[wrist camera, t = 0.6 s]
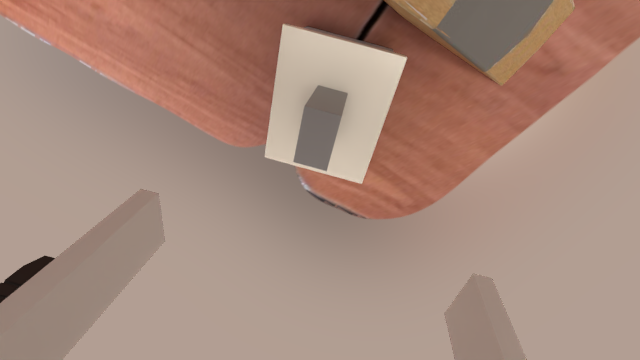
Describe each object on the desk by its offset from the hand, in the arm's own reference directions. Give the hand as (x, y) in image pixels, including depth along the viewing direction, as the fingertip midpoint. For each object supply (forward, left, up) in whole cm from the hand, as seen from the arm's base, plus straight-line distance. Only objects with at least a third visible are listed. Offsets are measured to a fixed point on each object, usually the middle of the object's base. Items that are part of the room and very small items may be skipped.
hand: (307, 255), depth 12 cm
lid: (0, -1, -18) cm, 18 cm away
